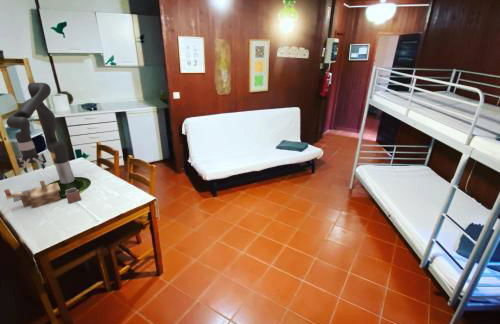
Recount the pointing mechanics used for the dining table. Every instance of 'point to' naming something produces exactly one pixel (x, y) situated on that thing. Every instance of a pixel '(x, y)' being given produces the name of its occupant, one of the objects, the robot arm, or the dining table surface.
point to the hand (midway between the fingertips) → (35, 170)
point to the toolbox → (39, 199)
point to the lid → (44, 189)
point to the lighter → (72, 195)
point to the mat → (19, 196)
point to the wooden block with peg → (9, 195)
